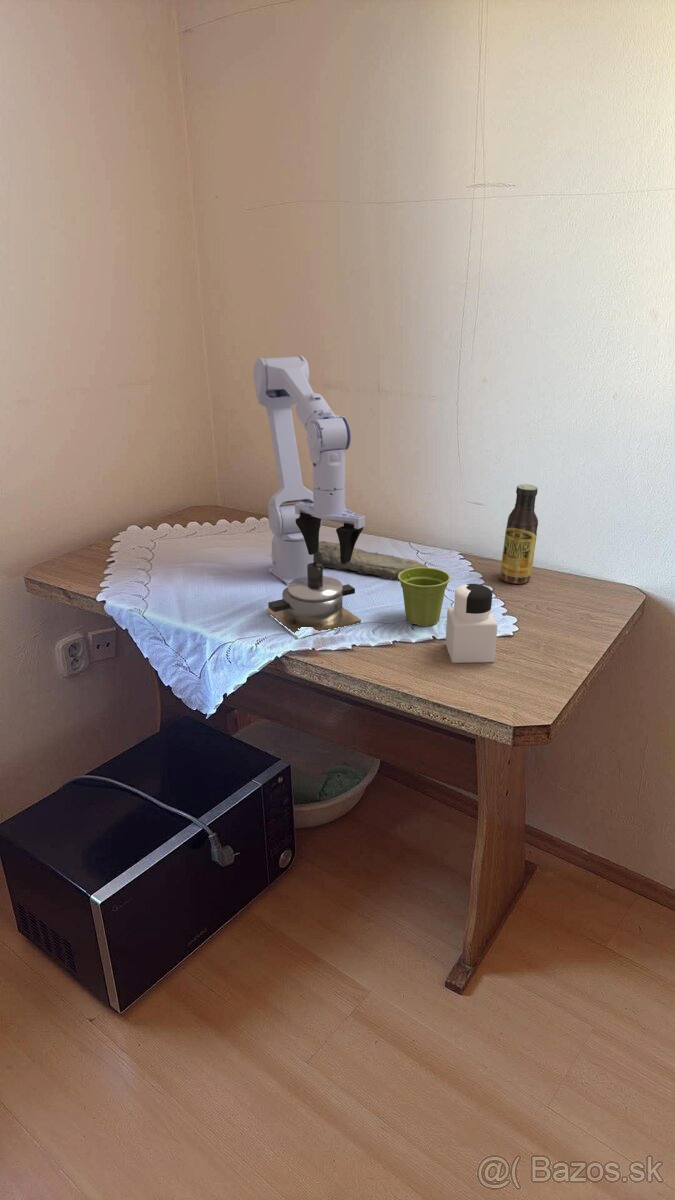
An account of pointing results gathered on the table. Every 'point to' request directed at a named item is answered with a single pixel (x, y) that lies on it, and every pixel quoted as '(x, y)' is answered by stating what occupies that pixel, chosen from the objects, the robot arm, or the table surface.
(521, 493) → the sauce bottle
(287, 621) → the pot
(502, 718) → the table surface
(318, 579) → the lid
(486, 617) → the medicine bottle
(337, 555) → the long grey stone
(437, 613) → the plant pot
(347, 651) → the table surface
